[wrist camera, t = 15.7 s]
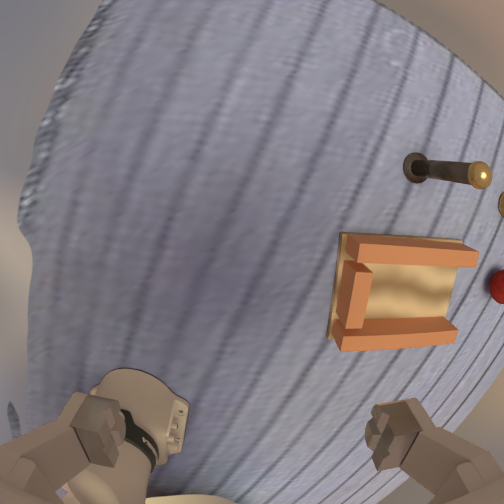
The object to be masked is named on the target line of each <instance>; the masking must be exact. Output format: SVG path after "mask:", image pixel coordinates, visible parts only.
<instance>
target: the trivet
mask: <svg viewBox="0 0 504 504" xmlns="http://www.w3.org/2000/svg"><path fill="white" fill-rule="evenodd" d="M347 234H355V235H369V236H382V237H395V238H408V239H420V240H432V241H443V242H455V243H462V241H461V240H459V239H449V238H434V237H419V236H403V235H386V234H369V233H350V232H340V237H339V247H338V256H337V264H336V272H335V280H334V288H333V295H332V302H331V309H330V315H329V322H328V328H327V334H326V336H327V338H328V339H334V337H333V335H332V329H333V324H334V319H339V317H338V315H337V313H336V307H337V301H338V295H339V289H340V283H341V276H342V270H343V263H344V260H354V259H353V258H352V257H351V256H349V255H348V254H347V253H346V252H345V248H346V241H347ZM363 264H364V265H365V266H366V267H368V268H369V269H370V270H371V271H372V272H373V277H372V283H371V288H370V293H369V298H368V303H367V308H366V313H365V317H364V319H388V318H417V317H438V316H443V317H445V316H446V313H447V309H448V305H449V302H450V298H451V294H452V290H453V285H454V281H455V277H456V272H457V267H446V266H421V265H397V264H374V263H363Z"/></svg>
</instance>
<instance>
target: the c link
mask: <svg viewBox="0 0 504 504" xmlns="http://www.w3.org/2000/svg"><path fill="white" fill-rule="evenodd" d="M345 252H346V253H347V254H348V255H349V256H351V257H352V258H353V259H354V260H344V263H343V270H342V276H341V283H340V289H339V295H338V301H337V307H336V313H337V315H338V317H339V319H334V324H333V329H332V335H333V337H334V339H335V341H336V344H337V346H338V348H339V350H340V352H343V351H368V350H385V349H400V348H412V347H423V346H433V345H443V344H451V343H454V341H455V339H456V336H457V333H458V329H457V328H456V327H455V326H454V325H452V324H451V323H450V322H449V321H448V320H447V319H446V318H445V317H443V316H438V317H417V318H388V319H364V317H365V313H366V308H367V303H368V298H369V293H370V288H371V283H372V277H373V272H372V271H371V270H370V269H369V268H368V267H366V266H365V265H364V264H363V263H374V264H397V265H421V266H446V267H471V268H476V265H477V261H478V256H479V251H477V250H474V249H472V248H470V247H468V246H466V245H464V244H462V243H455V242H443V241H432V240H420V239H408V238H395V237H382V236H369V235H355V234H347V241H346V248H345Z"/></svg>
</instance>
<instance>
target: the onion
mask: <svg viewBox="0 0 504 504" xmlns="http://www.w3.org/2000/svg"><path fill="white" fill-rule="evenodd" d="M490 293H491V296H492V298H493V299H494V300H495V301H496V302H498V303H500V304H504V270H501V271H498V272H496V273H495V274H494V275H493V276H492V278H491V281H490Z"/></svg>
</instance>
